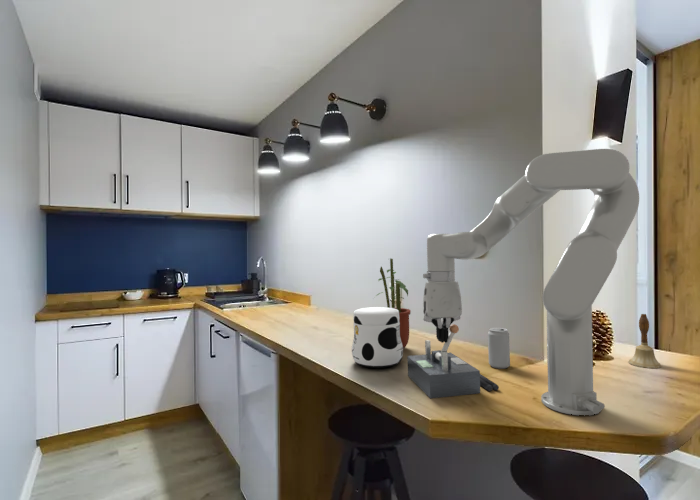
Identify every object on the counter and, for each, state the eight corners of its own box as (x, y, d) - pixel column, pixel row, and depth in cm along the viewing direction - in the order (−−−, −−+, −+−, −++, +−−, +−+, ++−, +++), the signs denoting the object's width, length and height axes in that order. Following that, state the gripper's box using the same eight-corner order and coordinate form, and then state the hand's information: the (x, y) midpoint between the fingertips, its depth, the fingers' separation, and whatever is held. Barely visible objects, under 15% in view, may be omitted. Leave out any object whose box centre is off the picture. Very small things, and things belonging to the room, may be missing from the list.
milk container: (344, 360, 135) (343, 309, 135) (389, 354, 141) (387, 305, 141) (364, 375, 119) (362, 317, 118) (413, 367, 125) (411, 312, 125)
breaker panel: (480, 393, 102) (479, 351, 102) (430, 398, 99) (429, 356, 99) (451, 371, 119) (450, 336, 119) (407, 375, 117) (406, 339, 117)
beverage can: (512, 369, 120) (511, 331, 119) (490, 369, 121) (489, 331, 121) (507, 363, 126) (506, 327, 126) (487, 362, 127) (486, 326, 127)
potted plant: (411, 354, 139) (409, 258, 139) (369, 353, 142) (366, 259, 141) (411, 342, 157) (409, 256, 156) (373, 341, 159) (371, 257, 159)
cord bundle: (499, 390, 103) (499, 385, 103) (488, 392, 102) (488, 386, 102) (468, 370, 120) (468, 365, 120) (458, 371, 120) (458, 366, 120)
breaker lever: (446, 364, 107) (462, 328, 108) (438, 361, 107) (455, 324, 108) (440, 360, 111) (456, 325, 112) (432, 357, 111) (449, 321, 112)
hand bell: (667, 369, 116) (666, 316, 116) (636, 368, 118) (635, 316, 118) (652, 361, 124) (651, 311, 124) (623, 360, 126) (622, 311, 126)
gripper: (420, 279, 104) (422, 346, 104) (471, 277, 107) (473, 342, 107) (411, 277, 111) (413, 339, 112) (459, 275, 114) (460, 336, 114)
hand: (442, 341), depth 109 cm, fingers closed
